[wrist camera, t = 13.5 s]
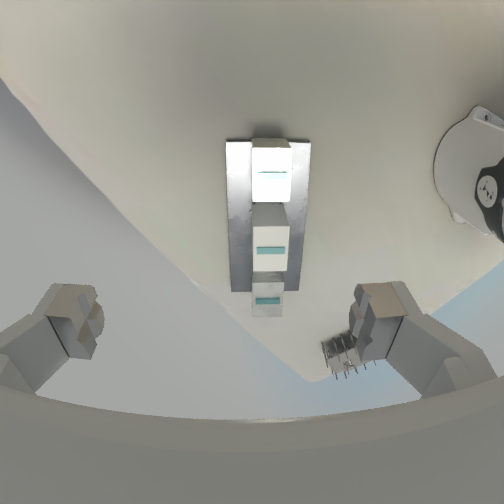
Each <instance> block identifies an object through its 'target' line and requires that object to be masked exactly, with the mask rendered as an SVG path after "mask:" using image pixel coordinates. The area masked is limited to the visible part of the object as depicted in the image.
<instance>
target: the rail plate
mask: <svg viewBox="0 0 504 504" xmlns="http://www.w3.org/2000/svg"><path fill="white" fill-rule="evenodd" d="M310 151H311V143H310V142H309V141H292V140H287V139H286V138H252V140H226V165H227V197H228V224H229V249H230V271H231V292H252V317H282V305H283V292H284V291H298V290H299V281H300V272H301V262H302V252H303V242H304V231H305V219H306V207H307V195H308V181H309V167H310ZM252 204H284V207H285V211H286V214H287V218H288V222H289V225H290V231H289V246H288V260H287V271H253V255H252Z"/></svg>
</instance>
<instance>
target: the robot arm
mask: <svg viewBox="0 0 504 504" xmlns="http://www.w3.org/2000/svg"><path fill="white" fill-rule="evenodd" d="M485 115H486V118H485ZM434 179H435V184H436V188H437V191H438V193H439V195H440V196H441V198H442V199H443V200H444V201H445V202H446V204H447V205H448V206H449V208H450V211H451V215H452V218H453V220H454V221H455V222H457V223H459V224H461V223H466V222H468V223H469V224H470V225H472V226H473V227H474V228H476V229H477V230H478V231H479V232H481V233H482V234H484V235H488V234H494V235H495V236H496V238H498V239H499V240H500V241H501V242H503V243H504V120H502V119H501V118H499V117H498V116H496V115H495V114H493V113H492V112H490V111H489V110H487V109H486V108H484V107H482V106H479V105H478V106H476V107H474V108H473V110H472V111H471V112H470V114H469V115H468V117H467V118H466V119H464V120H463V121H461V122H459V123H457V124H456V125H454V126H453V127H452V128H451V129H450V130H449V131H448V132H447V133H446V135H445V136H444V138H443V139H442V141H441V143H440V145H439V148H438V150H437V153H436V157H435V163H434ZM354 296H355V299H356V301H355V302H354V303H353V304H352V305H351V308H350V312H349V325H350V330H351V333H352V335H353V336H355V337H356V338H357V342H356V348H357V351H358V354H359V357H360V360H361V361H369V360H380V359H386V361H387V362H388V363H389V364H390V365H391V366H392V367H393V368H394V369H396V370H397V372H399V373H400V374H401V375H402V376H403V377H404V378H405V379H406V380H407V381H408V382H409V383H410V384H411V385H412V386H413V387H414V388H415V389H416V390H417V391H418V392H419V393H420V394H421V395H422V396H421V398H420V399H419V400H416V401H412V402H407V403H402V404H397V405H392V406H386V407H380V408H374V409H368V410H362V411H354V412H347V413H340V414H331V415H322V416H311V417H298V418H284V419H258V420H214V419H190V418H173V417H161V416H151V415H142V414H133V413H125V412H118V411H111V410H105V409H98V408H93V407H87V406H82V405H77V404H72V403H67V402H62V401H58V400H53V399H49V398H45V397H41V396H37V395H36V394H35V392H36V391H37V390H38V389H39V388H40V387H41V386H42V385H43V384H44V383H45V382H46V381H47V380H48V379H49V378H50V377H51V376H52V375H53V374H54V373H55V372H56V371H57V370H58V369H59V368H60V367H61V366H62V365H63V364H64V363H65V362H66V361H67V360H69V358H78V359H89V360H91V358H92V355H93V353H94V350H95V348H96V345H97V343H96V341H95V338H97V337H98V336H99V335H101V333H102V331H103V328H104V313H103V310H102V307H101V306H100V305H99V304H98V303H97V302H96V301H95V300H96V298H97V293H96V290H95V288H94V287H93V286H91V285H77V284H57V283H55V284H52V285H51V286H50V287H49V289H48V291H47V292H46V293H45V295H44V296H43V298H42V299H41V301H40V302H39V304H38V305H37V307H36V308H35V310H34V312H33V313H32V315H30V314H28V315H26V316H25V317H23V318H22V319H20V320H19V321H17V322H16V323H14V324H13V325H11V326H10V327H8V328H7V329H5V330H4V331H2V332H1V333H0V504H504V376H501V377H497V375H496V373H495V372H494V370H493V368H492V366H491V364H490V363H489V361H488V359H487V357H486V356H485V354H484V352H483V350H482V349H480V348H479V347H477V346H476V345H474V344H473V343H471V342H470V341H468V340H467V339H465V338H464V337H462V336H461V335H459V334H457V333H456V332H454V331H453V330H451V329H450V328H448V327H447V326H445V325H444V324H442V323H440V322H439V321H437V320H436V319H434V318H433V317H431V316H429V315H428V314H423V313H422V312H421V310H420V308H419V307H418V305H417V303H416V302H415V300H414V298H413V297H412V295H411V293H410V292H409V290H408V288H407V287H406V285H405V283H404V282H402V281H393V282H387V283H366V284H357V286H356V288H355V291H354Z"/></svg>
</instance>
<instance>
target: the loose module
mask: <svg viewBox="0 0 504 504" xmlns="http://www.w3.org/2000/svg"><path fill="white" fill-rule="evenodd" d="M289 231H290V225H289V222H288V218H287V214H286V211H285V207H284V204H252V255H253V271H287V260H288V246H289Z"/></svg>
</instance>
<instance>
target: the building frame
mask: <svg viewBox="0 0 504 504" xmlns="http://www.w3.org/2000/svg"><path fill="white" fill-rule="evenodd" d="M349 333H350V331H349ZM340 335H341V334H340ZM341 338H342V336H341ZM350 338H351V340H352V342H353V339H354V338H353V337H352V335H351V333H350ZM333 340H334V338H333ZM341 341H342V344H343V346H344V349H345V347H346V345H344V344H345V343H344V340H343V339H341ZM354 342H355V339H354ZM354 342H353V345H354V344H355V345H354V347H352V348H350V349H349V347H348V345H347V348H346V349H345V351H343V352H342V350H340V351H339V354H338V351H337V345H336V343H335V340H334V346H335V348H336V351H337V355H334V356H330V354H329V356H328V354H327V357H328V358H327V359H326V355H325V348H324V347H323V343H322V342H321V343H322V347H323V348H322V350H323V353H324V355H325V360H326V364H327V363H328V364H329V366H330V367H331V369H332V370H333V371H334V372H335V374H336V373H338V372H340V371H342V370H343V371H344V373H345V372H346V371H349V370H351V369H353V368H355V370H356V372H357V369H356V367H358V366H360V365H362V364H364V366H365V363H367V362H369V361H371V360H369V361H361V360H360V357H359V354H358V351H357V348H356V342H355V343H354ZM346 343H347V342H346ZM339 346H340V345H339ZM338 349H339V347H338ZM340 349H341V348H340ZM326 352H327V351H326ZM328 352H329V350H328ZM349 360H351V364H352V363H353V365H350V364H349V362H348V361H349ZM328 364H327V368H328ZM345 364H346V365H345ZM365 370H366V367H365ZM333 371H332V373H333ZM348 373H349V372H348ZM357 374H358V372H357ZM345 376H346V373H345ZM346 378H347V377H346ZM336 379H337V375H336Z"/></svg>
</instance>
